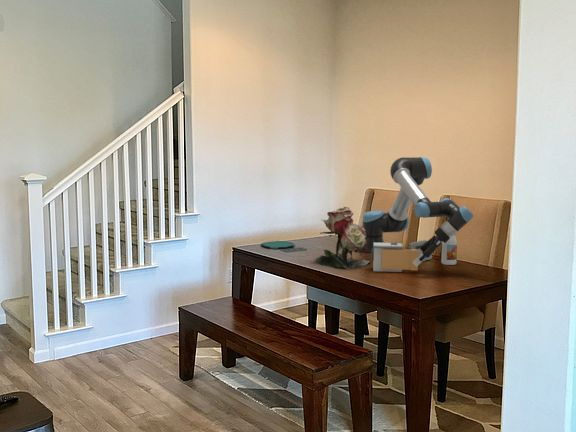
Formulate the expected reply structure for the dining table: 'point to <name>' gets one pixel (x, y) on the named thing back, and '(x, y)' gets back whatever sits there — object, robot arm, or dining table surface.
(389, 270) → the box
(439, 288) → the dining table surface
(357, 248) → the rose bouquet
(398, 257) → the tan long-handled part
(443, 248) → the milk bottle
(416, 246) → the digital clock
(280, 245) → the cutlery set
